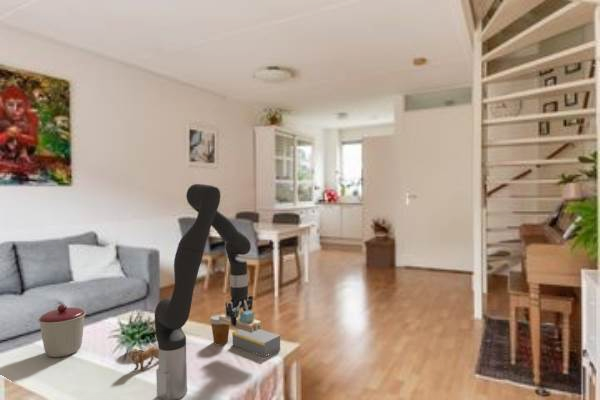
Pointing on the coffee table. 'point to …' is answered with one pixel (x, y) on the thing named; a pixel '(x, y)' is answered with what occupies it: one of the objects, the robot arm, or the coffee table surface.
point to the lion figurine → (143, 356)
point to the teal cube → (247, 316)
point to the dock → (257, 341)
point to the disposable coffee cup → (219, 330)
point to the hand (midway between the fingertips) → (239, 322)
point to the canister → (62, 330)
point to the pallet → (241, 323)
